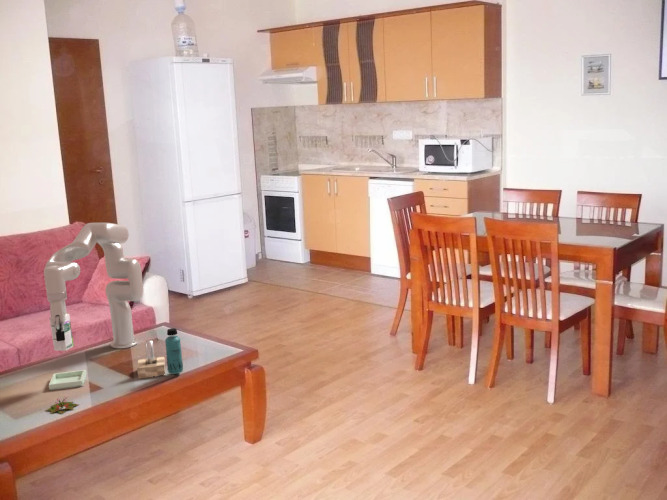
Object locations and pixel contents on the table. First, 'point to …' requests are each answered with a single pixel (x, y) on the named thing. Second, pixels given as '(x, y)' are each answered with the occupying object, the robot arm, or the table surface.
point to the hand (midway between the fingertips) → (62, 337)
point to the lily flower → (65, 404)
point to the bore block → (151, 368)
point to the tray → (67, 380)
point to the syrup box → (68, 335)
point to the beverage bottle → (173, 352)
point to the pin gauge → (149, 352)
